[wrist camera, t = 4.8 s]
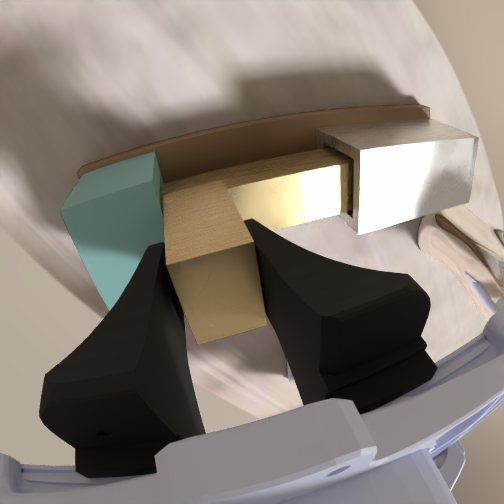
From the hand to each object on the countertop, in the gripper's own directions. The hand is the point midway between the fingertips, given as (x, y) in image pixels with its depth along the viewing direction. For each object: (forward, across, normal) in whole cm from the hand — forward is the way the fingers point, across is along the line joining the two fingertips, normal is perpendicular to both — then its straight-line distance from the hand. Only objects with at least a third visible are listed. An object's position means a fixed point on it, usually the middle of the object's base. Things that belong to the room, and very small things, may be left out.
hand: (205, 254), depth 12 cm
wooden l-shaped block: (+5, -3, 0) cm, 6 cm away
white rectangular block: (+6, -12, 0) cm, 13 cm away
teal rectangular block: (+6, +3, 0) cm, 7 cm away
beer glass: (+7, -20, +8) cm, 23 cm away
